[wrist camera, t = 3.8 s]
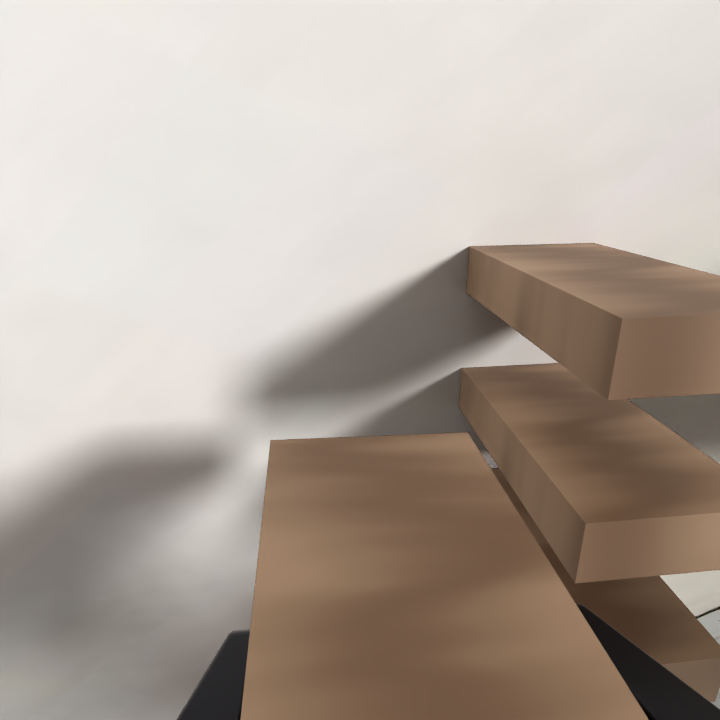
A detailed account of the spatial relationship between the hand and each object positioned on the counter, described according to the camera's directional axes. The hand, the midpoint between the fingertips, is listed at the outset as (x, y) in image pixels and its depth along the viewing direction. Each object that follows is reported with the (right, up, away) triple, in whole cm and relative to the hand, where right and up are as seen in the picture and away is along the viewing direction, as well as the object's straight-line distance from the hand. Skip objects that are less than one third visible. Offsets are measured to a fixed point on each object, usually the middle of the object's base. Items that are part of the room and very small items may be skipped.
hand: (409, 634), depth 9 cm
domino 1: (+6, +8, +12) cm, 15 cm away
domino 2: (+6, +3, +13) cm, 15 cm away
